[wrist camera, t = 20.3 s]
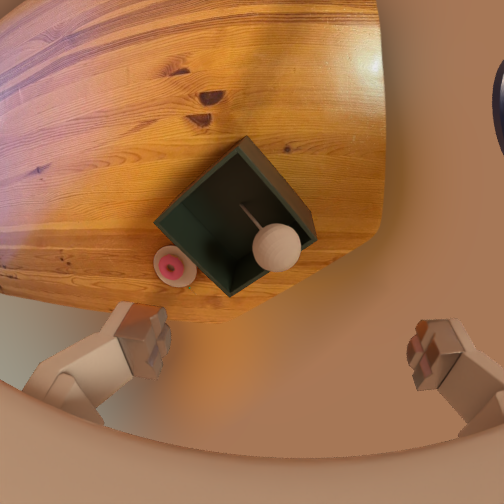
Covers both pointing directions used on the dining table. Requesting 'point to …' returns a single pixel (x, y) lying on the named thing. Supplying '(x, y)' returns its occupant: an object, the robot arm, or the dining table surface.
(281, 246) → the lollipop
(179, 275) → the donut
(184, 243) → the bin
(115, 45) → the dining table surface
